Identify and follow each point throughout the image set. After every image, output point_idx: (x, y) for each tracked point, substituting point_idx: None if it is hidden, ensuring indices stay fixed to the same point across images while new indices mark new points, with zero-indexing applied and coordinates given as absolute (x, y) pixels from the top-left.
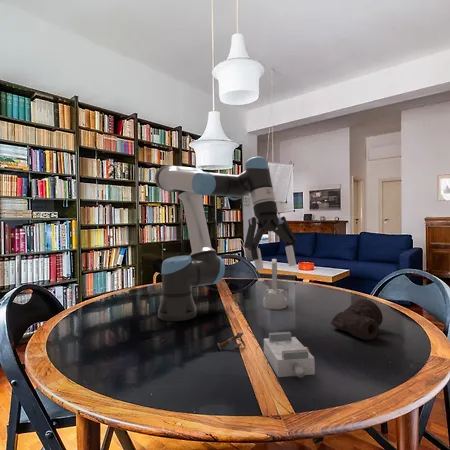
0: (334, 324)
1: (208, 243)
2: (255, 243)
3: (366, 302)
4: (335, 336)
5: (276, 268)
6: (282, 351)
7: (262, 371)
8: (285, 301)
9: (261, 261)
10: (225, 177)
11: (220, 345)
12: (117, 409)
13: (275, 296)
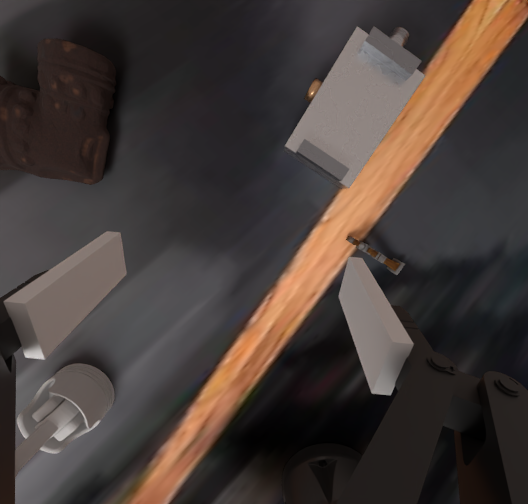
0: (104, 163)
1: None
2: (449, 387)
3: None
4: (142, 143)
5: None
6: (414, 71)
7: (409, 128)
8: (58, 375)
9: (366, 281)
10: None
11: (398, 262)
12: None
13: (78, 396)
